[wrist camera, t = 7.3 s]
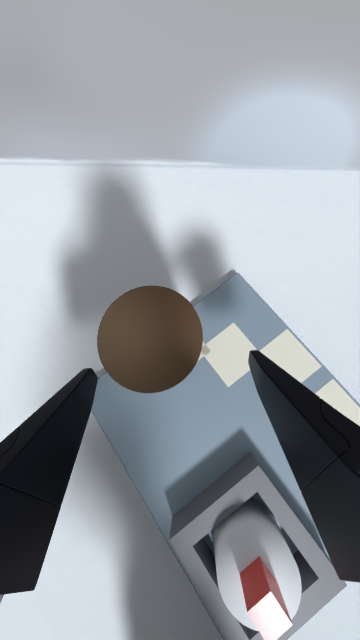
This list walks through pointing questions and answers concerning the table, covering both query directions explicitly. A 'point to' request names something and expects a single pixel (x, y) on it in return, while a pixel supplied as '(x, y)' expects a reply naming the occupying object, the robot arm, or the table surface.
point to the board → (224, 449)
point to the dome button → (256, 570)
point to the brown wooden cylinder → (150, 339)
